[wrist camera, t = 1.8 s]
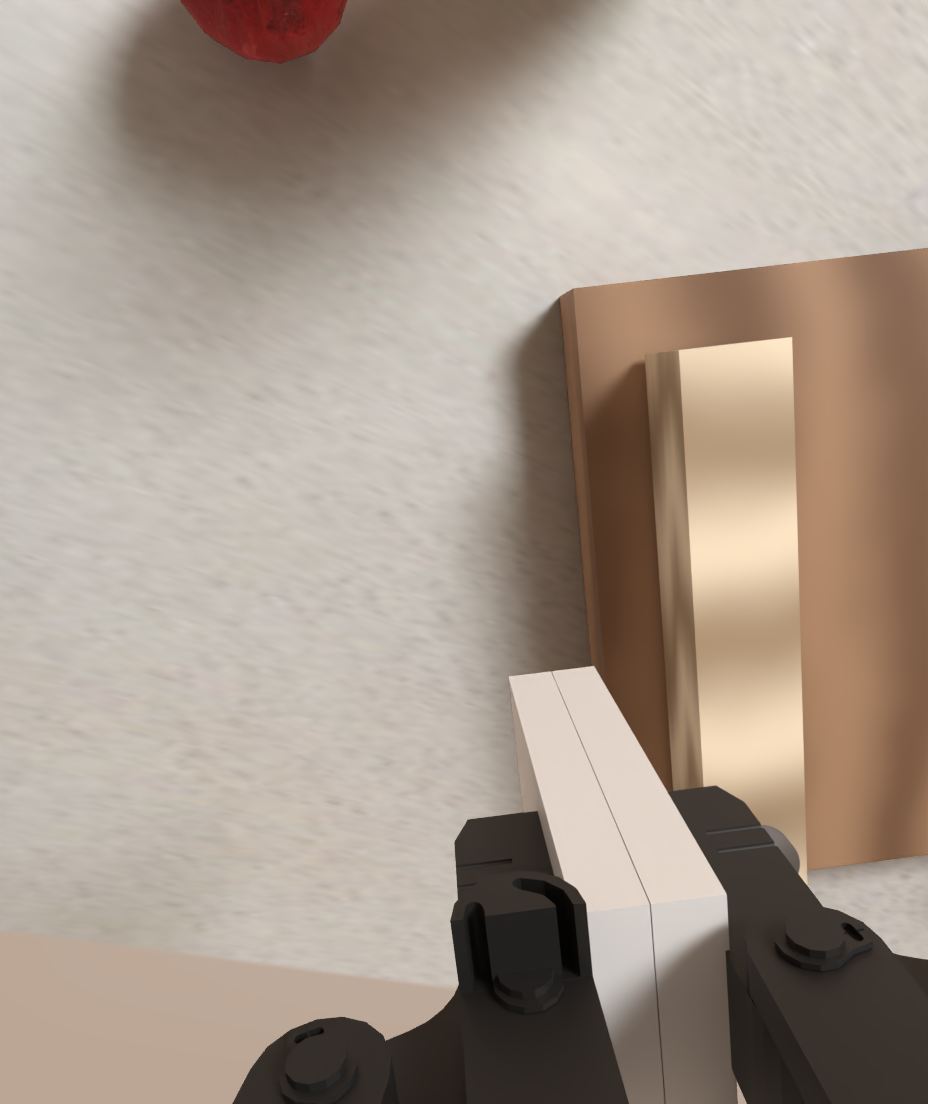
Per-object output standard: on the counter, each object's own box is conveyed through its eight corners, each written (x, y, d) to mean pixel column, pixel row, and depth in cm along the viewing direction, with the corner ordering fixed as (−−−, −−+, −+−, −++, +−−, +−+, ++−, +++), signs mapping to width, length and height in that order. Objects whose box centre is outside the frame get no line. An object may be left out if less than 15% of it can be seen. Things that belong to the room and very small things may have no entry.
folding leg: (762, 826, 33) (816, 899, 28) (676, 838, 33) (716, 912, 28) (742, 342, 29) (802, 336, 24) (644, 353, 29) (686, 349, 24)
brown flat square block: (607, 853, 37) (645, 952, 30) (559, 296, 32) (593, 276, 25) (1130, 785, 37) (1275, 869, 31) (1166, 227, 32) (1349, 189, 26)
